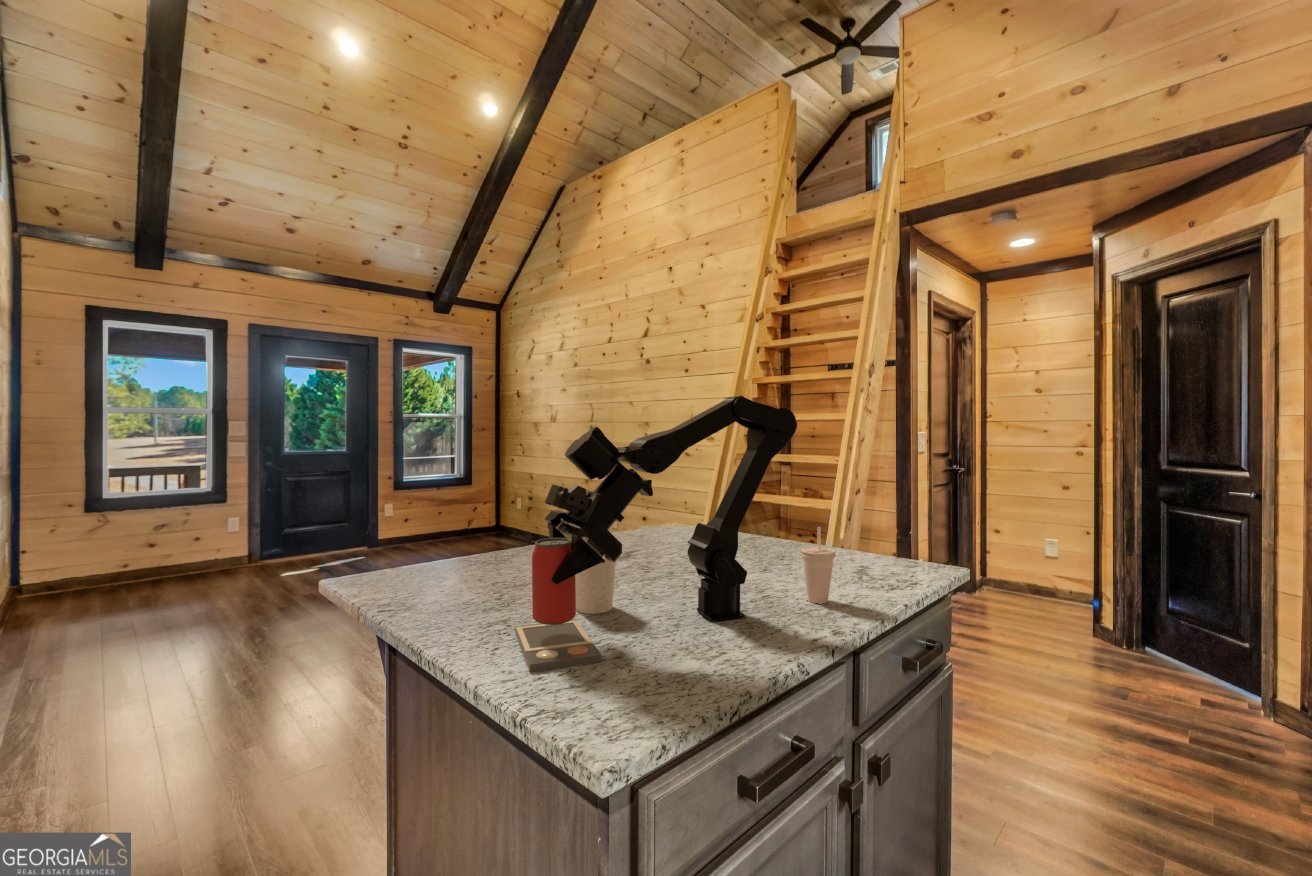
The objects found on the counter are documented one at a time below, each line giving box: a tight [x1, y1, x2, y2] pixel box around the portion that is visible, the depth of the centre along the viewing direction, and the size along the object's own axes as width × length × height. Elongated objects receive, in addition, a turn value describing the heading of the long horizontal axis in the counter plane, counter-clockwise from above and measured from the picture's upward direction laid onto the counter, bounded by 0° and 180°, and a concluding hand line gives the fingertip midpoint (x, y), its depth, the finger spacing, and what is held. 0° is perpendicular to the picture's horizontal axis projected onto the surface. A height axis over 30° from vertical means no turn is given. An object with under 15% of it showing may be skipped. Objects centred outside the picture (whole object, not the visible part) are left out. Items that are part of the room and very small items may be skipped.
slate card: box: [514, 619, 603, 673], centre depth 89 cm, size 10×16×1 cm, turn 20°
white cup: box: [575, 555, 616, 615], centre depth 107 cm, size 8×8×10 cm
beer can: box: [531, 537, 577, 625], centre depth 91 cm, size 7×7×12 cm
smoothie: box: [800, 526, 837, 605], centre depth 112 cm, size 6×6×14 cm
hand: (545, 577), depth 90 cm, fingers closed on beer can, 7 cm apart
